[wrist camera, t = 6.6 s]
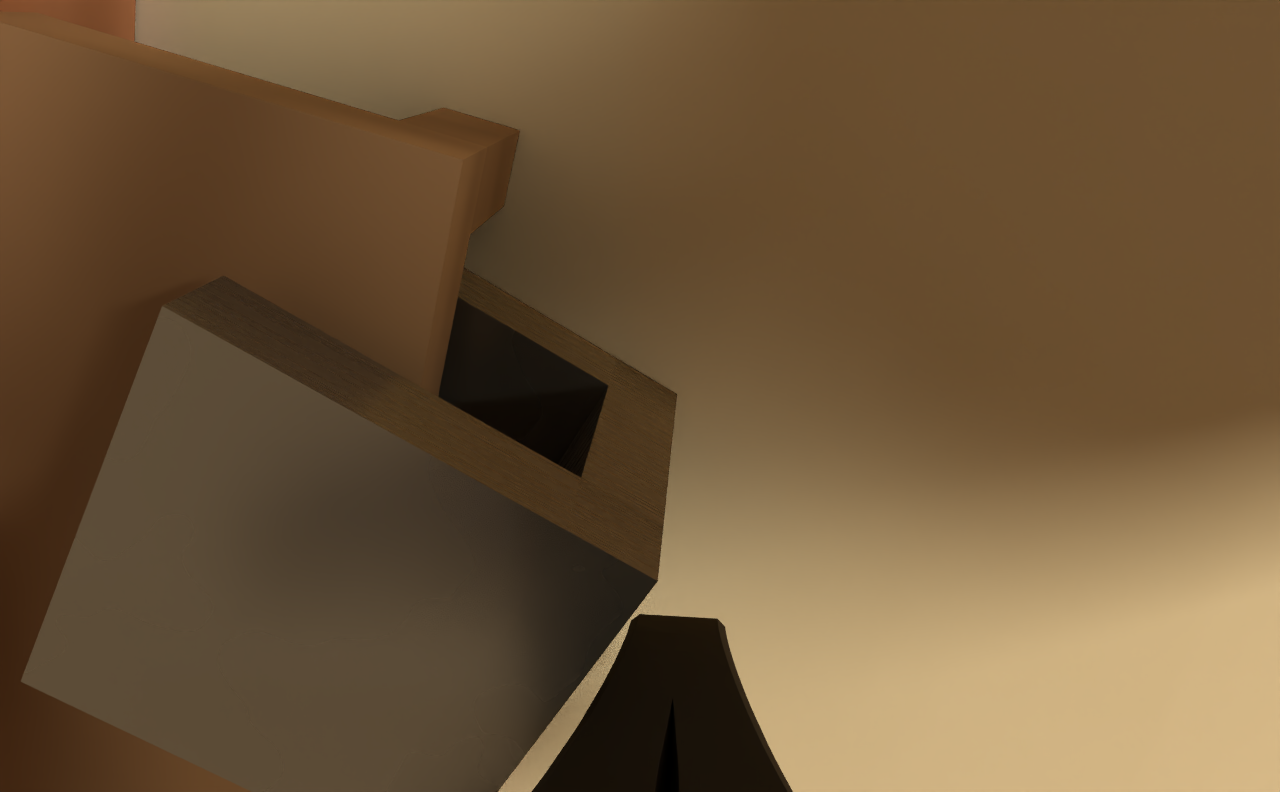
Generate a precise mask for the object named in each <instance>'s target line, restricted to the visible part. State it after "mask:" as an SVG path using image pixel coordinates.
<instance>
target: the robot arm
mask: <svg viewBox="0 0 1280 792" xmlns="http://www.w3.org/2000/svg"><path fill="white" fill-rule="evenodd" d="M532 792H793V791H792V790H791V788H790V786H789V784H788V782H787V780H786V778H785V777H784V775H783V773H782V771H781V769H780V767H779V765H778V764H777V762H776V760H775V758H774V756H773V754H772V752H771V750H770V748H769V746H768V744H767V741H766V739H765V737H764V735H763V733H762V730H761V728H760V726H759V724H758V722H757V720H756V717H755V715H754V713H753V711H752V709H751V706H750V704H749V701H748V699H747V697H746V694H745V692H744V689H743V686H742V684H741V681H740V678H739V676H738V673H737V670H736V667H735V664H734V661H733V658H732V655H731V652H730V648H729V644H728V640H727V636H726V630H725V626H724V625H723V624H722V623H721V622H720V621H719V620H718V619H713V618H696V617H679V616H662V615H645V614H639V615H638V616H637V617H635V618H634V619H633V620H631V623H630V626H629V629H628V632H627V635H626V637H625V640H624V642H623V645H622V647H621V649H620V651H619V653H618V656H617V658H616V660H615V662H614V664H613V666H612V668H611V669H610V671H609V673H608V675H607V677H606V679H605V681H604V683H603V685H602V686H601V688H600V690H599V691H598V693H597V695H596V696H595V698H594V700H593V702H592V703H591V705H590V707H589V708H588V710H587V712H586V713H585V715H584V717H583V719H582V720H581V722H580V723H579V725H578V727H577V728H576V730H575V731H574V733H573V734H572V736H571V737H570V738H569V740H568V741H567V743H566V744H565V746H564V747H563V749H562V750H561V752H560V753H559V755H558V756H557V757H556V759H555V760H554V762H553V763H552V765H551V766H550V768H549V769H548V771H547V772H546V773H545V775H544V776H543V777H542V779H541V780H540V781H539V783H538V784H537V785H536V787H535V788H534V789H533V791H532Z"/></svg>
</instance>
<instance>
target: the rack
mask: <svg viewBox="0 0 1280 792" xmlns="http://www.w3.org/2000/svg"><path fill="white" fill-rule="evenodd" d="M135 3H136V0H0V792H251V791H249V790H247V789H245V788H243V787H241V786H239V785H237V784H234V783H232V782H230V781H228V780H226V779H224V778H222V777H220V776H218V775H216V774H214V773H211V772H209V771H207V770H205V769H203V768H201V767H199V766H197V765H195V764H193V763H190V762H188V761H186V760H184V759H182V758H180V757H178V756H176V755H174V754H172V753H169V752H167V751H165V750H163V749H161V748H159V747H157V746H155V745H153V744H151V743H148V742H146V741H144V740H142V739H140V738H138V737H136V736H134V735H132V734H130V733H127V732H125V731H123V730H121V729H119V728H117V727H115V726H113V725H111V724H109V723H106V722H104V721H102V720H100V719H98V718H96V717H94V716H92V715H90V714H88V713H85V712H83V711H81V710H79V709H77V708H75V707H73V706H71V705H69V704H67V703H64V702H62V701H60V700H58V699H56V698H54V697H52V696H50V695H48V694H46V693H43V692H41V691H39V690H37V689H35V688H33V687H31V686H29V685H27V684H25V683H23V682H21V679H22V677H23V674H24V671H25V669H26V666H27V663H28V661H29V658H30V655H31V653H32V650H33V647H34V645H35V642H36V639H37V637H38V634H39V631H40V629H41V626H42V624H43V621H44V618H45V616H46V613H47V610H48V608H49V605H50V602H51V600H52V597H53V594H54V592H55V589H56V586H57V584H58V581H59V578H60V576H61V573H62V570H63V568H64V565H65V563H66V560H67V557H68V555H69V552H70V549H71V547H72V544H73V541H74V539H75V536H76V533H77V531H78V528H79V525H80V523H81V520H82V517H83V515H84V512H85V509H86V507H87V504H88V501H89V499H90V496H91V494H92V491H93V488H94V486H95V483H96V480H97V478H98V475H99V472H100V470H101V467H102V464H103V462H104V459H105V456H106V454H107V451H108V448H109V446H110V443H111V440H112V438H113V435H114V433H115V430H116V427H117V425H118V422H119V419H120V417H121V414H122V411H123V409H124V406H125V403H126V401H127V398H128V395H129V393H130V390H131V387H132V385H133V382H134V379H135V377H136V374H137V371H138V369H139V366H140V364H141V361H142V358H143V356H144V353H145V350H146V348H147V345H148V342H149V340H150V337H151V334H152V332H153V329H154V326H155V324H156V321H157V318H158V316H159V313H160V310H161V308H162V306H163V305H165V304H167V303H169V302H171V301H173V300H175V299H177V298H179V297H181V296H183V295H185V294H187V293H189V292H191V291H193V290H195V289H197V288H199V287H201V286H203V285H205V284H207V283H209V282H211V281H213V280H215V279H217V278H219V277H221V276H223V275H224V276H226V277H228V278H229V279H231V280H233V281H235V282H236V283H238V284H240V285H242V286H243V287H245V288H247V289H249V290H250V291H252V292H254V293H256V294H258V295H259V296H261V297H263V298H265V299H266V300H268V301H270V302H272V303H273V304H275V305H277V306H279V307H280V308H282V309H284V310H286V311H288V312H289V313H291V314H293V315H295V316H296V317H298V318H300V319H302V320H303V321H305V322H307V323H309V324H310V325H312V326H314V327H316V328H318V329H319V330H321V331H323V332H325V333H326V334H328V335H330V336H332V337H333V338H335V339H337V340H339V341H340V342H342V343H344V344H346V345H348V346H349V347H351V348H353V349H355V350H356V351H358V352H360V353H362V354H363V355H365V356H367V357H369V358H370V359H372V360H374V361H376V362H377V363H379V364H381V365H383V366H385V367H386V368H388V369H390V370H392V371H393V372H395V373H397V374H399V375H400V376H402V377H404V378H406V379H407V380H409V381H411V382H413V383H415V384H416V385H418V386H420V387H422V388H423V389H425V390H427V391H429V392H430V393H432V394H434V395H436V396H437V397H438V394H439V389H440V384H441V379H442V374H443V369H444V364H445V359H446V354H447V349H448V344H449V339H450V334H451V329H452V324H453V319H454V314H455V308H456V303H457V298H458V293H459V288H460V283H461V278H462V273H463V268H464V263H465V258H466V253H467V248H468V243H469V238H470V234H471V233H472V232H474V231H475V230H476V229H477V228H478V227H479V226H481V225H482V224H483V223H484V222H485V221H487V220H488V219H489V218H490V217H491V216H493V215H494V214H495V213H496V212H497V211H499V210H500V209H501V208H502V207H503V206H504V203H505V198H506V193H507V189H508V184H509V179H510V174H511V170H512V165H513V160H514V156H515V151H516V146H517V141H518V137H519V132H520V130H517V129H513V128H510V127H507V126H503V125H500V124H497V123H493V122H490V121H487V120H483V119H480V118H477V117H473V116H470V115H467V114H463V113H460V112H457V111H453V110H450V109H447V108H441V109H438V110H434V111H431V112H427V113H424V114H420V115H417V116H413V117H410V118H406V119H403V120H399V121H398V120H395V119H392V118H388V117H385V116H381V115H378V114H375V113H371V112H368V111H365V110H361V109H358V108H355V107H351V106H348V105H345V104H341V103H338V102H335V101H331V100H328V99H325V98H321V97H318V96H314V95H311V94H308V93H304V92H301V91H298V90H294V89H291V88H288V87H284V86H281V85H278V84H274V83H271V82H268V81H264V80H261V79H258V78H254V77H251V76H247V75H244V74H241V73H237V72H234V71H231V70H227V69H224V68H221V67H217V66H214V65H211V64H207V63H204V62H201V61H197V60H194V59H191V58H187V57H184V56H180V55H177V54H174V53H170V52H167V51H164V50H160V49H157V48H154V47H150V46H147V45H144V44H140V43H137V42H134V36H135Z"/></svg>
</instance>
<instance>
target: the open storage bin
mask: <svg viewBox="0 0 1280 792" xmlns="http://www.w3.org/2000/svg"><path fill="white" fill-rule="evenodd" d="M676 398H677V394H676V393H674V392H672V391H671V390H669V389H667V388H666V387H664V386H662V385H661V384H659V383H657V382H655V381H654V380H652V379H650V378H649V377H647V376H645V375H644V374H642V373H640V372H639V371H637V370H635V369H634V368H632V367H630V366H629V365H627V364H625V363H624V362H622V361H620V360H618V359H617V358H615V357H613V356H612V355H610V354H608V353H607V352H605V351H603V350H602V349H600V348H598V347H597V346H595V345H593V344H592V343H590V342H588V341H586V340H585V339H583V338H581V337H580V336H578V335H576V334H575V333H573V332H571V331H570V330H568V329H566V328H565V327H563V326H561V325H560V324H558V323H556V322H554V321H553V320H551V319H549V318H548V317H546V316H544V315H543V314H541V313H539V312H538V311H536V310H534V309H533V308H531V307H529V306H528V305H526V304H524V303H522V302H521V301H519V300H517V299H516V298H514V297H512V296H511V295H509V294H507V293H506V292H504V291H502V290H501V289H499V288H497V287H496V286H494V285H492V284H490V283H489V282H487V281H485V280H484V279H482V278H480V277H479V276H477V275H475V274H474V273H472V272H470V271H469V270H467V269H465V268H463V273H462V278H461V283H460V288H459V293H458V298H457V303H456V308H455V314H454V319H453V324H452V329H451V334H450V339H449V344H448V349H447V354H446V359H445V364H444V369H443V374H442V379H441V384H440V389H439V394H438V397H437V396H436V395H434V394H432V393H430V392H429V391H427V390H425V389H423V388H422V387H420V386H418V385H416V384H415V383H413V382H411V381H409V380H407V379H406V378H404V377H402V376H400V375H399V374H397V373H395V372H393V371H392V370H390V369H388V368H386V367H385V366H383V365H381V364H379V363H377V362H376V361H374V360H372V359H370V358H369V357H367V356H365V355H363V354H362V353H360V352H358V351H356V350H355V349H353V348H351V347H349V346H348V345H346V344H344V343H342V342H340V341H339V340H337V339H335V338H333V337H332V336H330V335H328V334H326V333H325V332H323V331H321V330H319V329H318V328H316V327H314V326H312V325H310V324H309V323H307V322H305V321H303V320H302V319H300V318H298V317H296V316H295V315H293V314H291V313H289V312H288V311H286V310H284V309H282V308H280V307H279V306H277V305H275V304H273V303H272V302H270V301H268V300H266V299H265V298H263V297H261V296H259V295H258V294H256V293H254V292H252V291H250V290H249V289H247V288H245V287H243V286H242V285H240V284H238V283H236V282H235V281H233V280H231V279H229V278H228V277H226V276H224V275H223V276H221V277H219V278H217V279H215V280H213V281H211V282H209V283H207V284H205V285H203V286H201V287H199V288H197V289H195V290H193V291H191V292H189V293H187V294H185V295H183V296H181V297H179V298H177V299H175V300H173V301H171V302H169V303H167V304H165V305H163V306H162V308H161V310H160V313H159V316H158V318H157V321H156V324H155V326H154V329H153V332H152V334H151V337H150V340H149V342H148V345H147V348H146V350H145V353H144V356H143V358H142V361H141V364H140V366H139V369H138V371H137V374H136V377H135V379H134V382H133V385H132V387H131V390H130V393H129V395H128V398H127V401H126V403H125V406H124V409H123V411H122V414H121V417H120V419H119V422H118V425H117V427H116V430H115V433H114V435H113V438H112V440H111V443H110V446H109V448H108V451H107V454H106V456H105V459H104V462H103V464H102V467H101V470H100V472H99V475H98V478H97V480H96V483H95V486H94V488H93V491H92V494H91V496H90V499H89V501H88V504H87V507H86V509H85V512H84V515H83V517H82V520H81V523H80V525H79V528H78V531H77V533H76V536H75V539H74V541H73V544H72V547H71V549H70V552H69V555H68V557H67V560H66V563H65V565H64V568H63V570H62V573H61V576H60V578H59V581H58V584H57V586H56V589H55V592H54V594H53V597H52V600H51V602H50V605H49V608H48V610H47V613H46V616H45V618H44V621H43V624H42V626H41V629H40V631H39V634H38V637H37V639H36V642H35V645H34V647H33V650H32V653H31V655H30V658H29V661H28V663H27V666H26V669H25V671H24V674H23V677H22V679H21V682H23V683H25V684H27V685H29V686H31V687H33V688H35V689H37V690H39V691H41V692H43V693H46V694H48V695H50V696H52V697H54V698H56V699H58V700H60V701H62V702H64V703H67V704H69V705H71V706H73V707H75V708H77V709H79V710H81V711H83V712H85V713H88V714H90V715H92V716H94V717H96V718H98V719H100V720H102V721H104V722H106V723H109V724H111V725H113V726H115V727H117V728H119V729H121V730H123V731H125V732H127V733H130V734H132V735H134V736H136V737H138V738H140V739H142V740H144V741H146V742H148V743H151V744H153V745H155V746H157V747H159V748H161V749H163V750H165V751H167V752H169V753H172V754H174V755H176V756H178V757H180V758H182V759H184V760H186V761H188V762H190V763H193V764H195V765H197V766H199V767H201V768H203V769H205V770H207V771H209V772H211V773H214V774H216V775H218V776H220V777H222V778H224V779H226V780H228V781H230V782H232V783H234V784H237V785H239V786H241V787H243V788H245V789H247V790H249V791H251V792H498V790H499V789H500V788H501V786H502V785H503V784H504V783H505V781H506V780H507V779H508V777H509V776H510V775H511V773H512V772H513V771H514V769H515V768H516V767H517V765H518V764H519V763H520V761H521V760H522V759H523V758H524V756H525V755H526V754H527V752H528V751H529V750H530V748H531V747H532V746H533V744H534V743H535V742H536V740H537V739H538V738H539V736H540V735H541V734H542V733H543V731H544V730H545V729H546V727H547V726H548V725H549V723H550V722H551V721H552V719H553V718H554V717H555V715H556V714H557V713H558V711H559V710H560V709H561V708H562V706H563V705H564V704H565V702H566V701H567V700H568V698H569V697H570V696H571V694H572V693H573V692H574V690H575V689H576V688H577V686H578V685H579V684H580V683H581V681H582V680H583V679H584V677H585V676H586V675H587V673H588V672H589V671H590V669H591V668H592V667H593V665H594V664H595V663H596V661H597V660H598V659H599V658H600V656H601V655H602V654H603V652H604V651H605V650H606V648H607V647H608V646H609V644H610V643H611V642H612V640H613V639H614V638H615V636H616V635H617V634H618V633H619V631H620V630H621V629H622V627H623V626H624V625H625V623H626V622H627V621H628V619H629V618H630V617H631V615H632V614H633V613H634V611H635V610H636V609H637V608H638V606H639V605H640V604H641V602H642V601H643V600H644V598H645V597H646V596H647V594H648V593H649V592H650V590H651V589H652V588H653V586H654V585H655V584H656V583H657V581H658V573H659V563H660V553H661V544H662V534H663V524H664V514H665V505H666V495H667V485H668V476H669V466H670V456H671V446H672V437H673V427H674V417H675V408H676Z"/></svg>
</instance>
